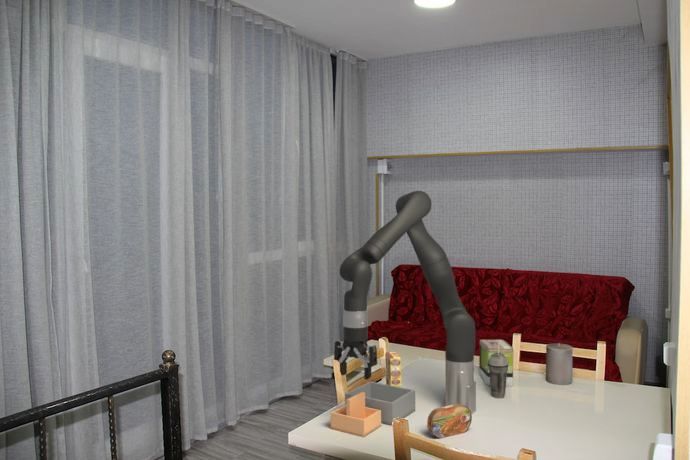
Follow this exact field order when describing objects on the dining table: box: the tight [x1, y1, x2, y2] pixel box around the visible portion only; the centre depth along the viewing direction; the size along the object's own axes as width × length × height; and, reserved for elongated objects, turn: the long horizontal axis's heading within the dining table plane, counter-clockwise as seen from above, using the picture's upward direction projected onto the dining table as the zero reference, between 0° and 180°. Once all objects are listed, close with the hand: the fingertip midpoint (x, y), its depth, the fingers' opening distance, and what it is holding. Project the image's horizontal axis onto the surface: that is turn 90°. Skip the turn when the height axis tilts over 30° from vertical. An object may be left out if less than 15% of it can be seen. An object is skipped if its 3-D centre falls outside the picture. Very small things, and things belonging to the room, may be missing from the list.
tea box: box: [478, 339, 514, 387], centre depth 222 cm, size 15×10×15 cm
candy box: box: [384, 351, 402, 387], centre depth 202 cm, size 9×4×15 cm, turn 8°
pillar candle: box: [545, 342, 574, 386], centre depth 220 cm, size 10×10×15 cm
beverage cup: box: [488, 339, 509, 399], centre depth 203 cm, size 7×7×20 cm
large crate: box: [344, 381, 416, 427], centre depth 187 cm, size 18×16×7 cm
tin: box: [426, 404, 473, 439], centre depth 169 cm, size 15×3×8 cm, turn 117°
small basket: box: [330, 392, 382, 438], centre depth 175 cm, size 12×10×10 cm
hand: (355, 376), depth 174 cm, fingers open, 8 cm apart
